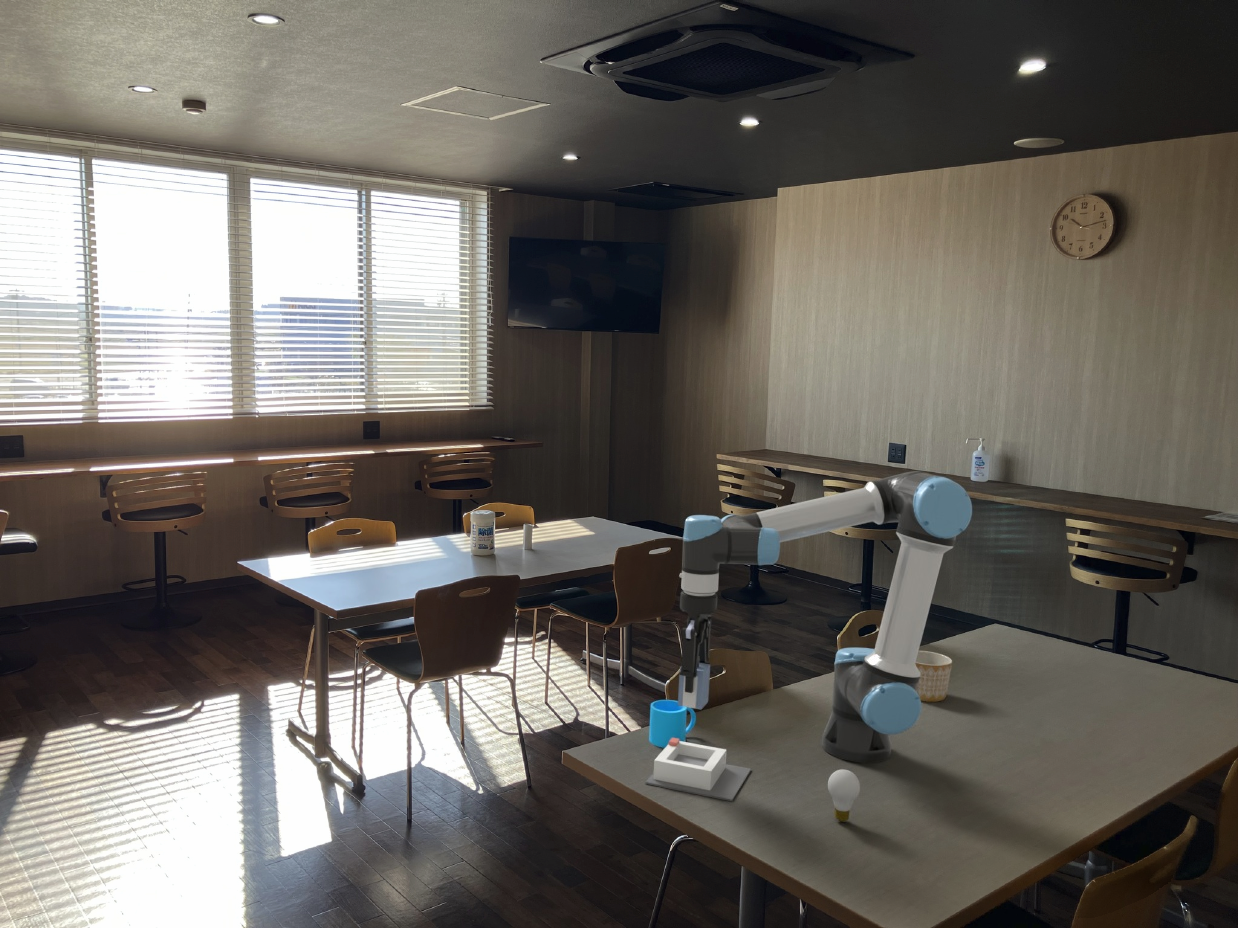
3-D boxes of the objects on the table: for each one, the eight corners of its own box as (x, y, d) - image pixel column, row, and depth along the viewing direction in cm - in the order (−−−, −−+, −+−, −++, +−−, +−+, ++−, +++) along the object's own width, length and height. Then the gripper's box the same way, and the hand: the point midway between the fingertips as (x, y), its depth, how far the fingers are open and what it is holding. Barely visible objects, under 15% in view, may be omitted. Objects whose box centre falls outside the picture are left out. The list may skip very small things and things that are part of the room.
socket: (750, 770, 202) (752, 746, 201) (731, 801, 187) (733, 775, 186) (670, 754, 208) (671, 731, 208) (645, 783, 193) (646, 758, 193)
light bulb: (821, 814, 183) (824, 764, 182) (851, 814, 184) (854, 764, 183) (831, 828, 177) (834, 777, 176) (861, 828, 178) (865, 777, 177)
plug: (708, 701, 198) (710, 654, 197) (701, 709, 193) (704, 661, 192) (685, 697, 200) (687, 651, 199) (677, 705, 195) (680, 657, 194)
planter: (954, 694, 256) (957, 656, 255) (942, 707, 245) (945, 668, 244) (907, 684, 263) (909, 647, 262) (893, 696, 252) (896, 658, 251)
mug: (663, 750, 210) (665, 714, 210) (642, 738, 217) (643, 703, 216) (705, 740, 217) (707, 705, 216) (683, 728, 224) (685, 694, 223)
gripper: (694, 580, 204) (688, 686, 206) (667, 598, 187) (662, 713, 190) (728, 585, 201) (722, 691, 204) (704, 603, 185) (698, 719, 187)
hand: (693, 701), depth 197 cm, fingers closed on plug, 5 cm apart
